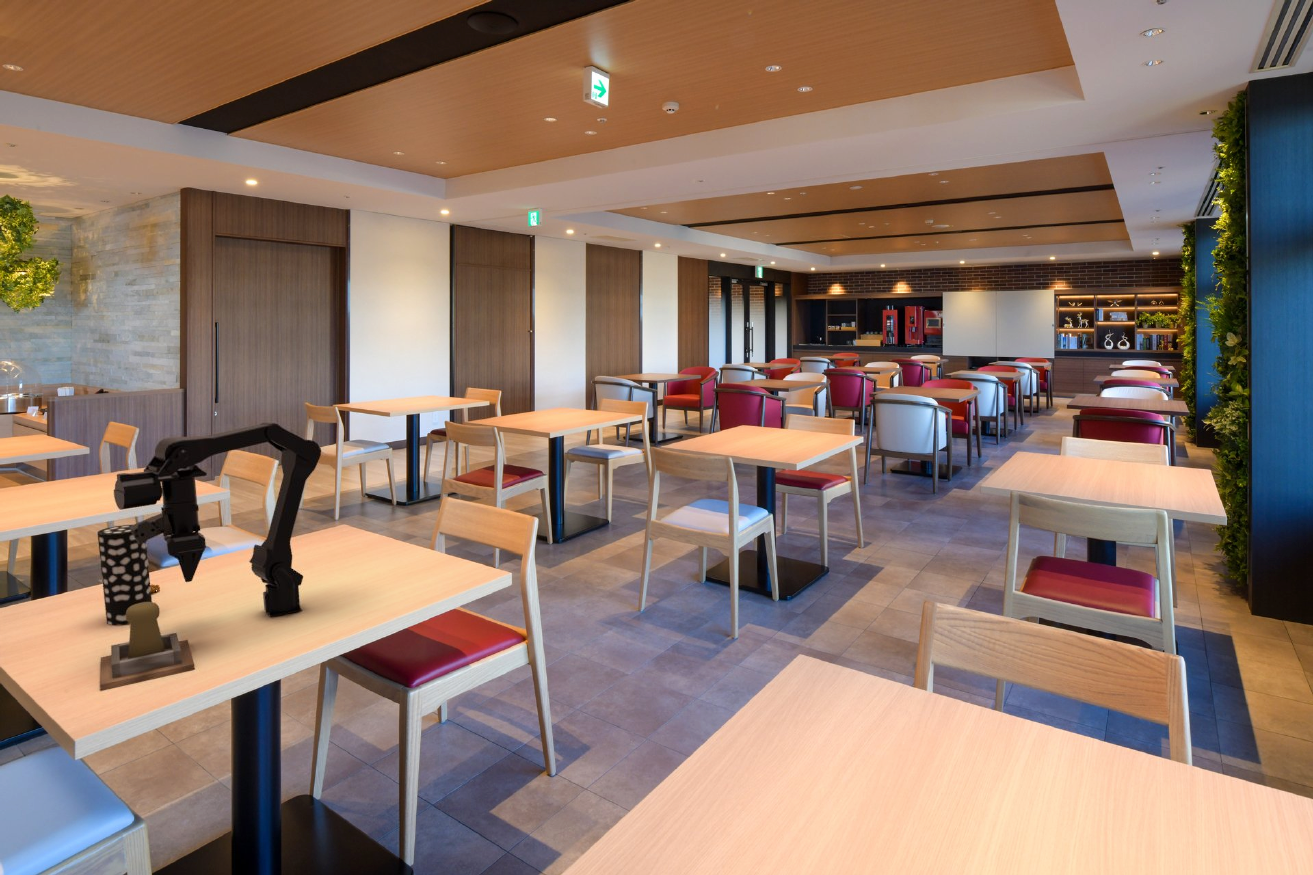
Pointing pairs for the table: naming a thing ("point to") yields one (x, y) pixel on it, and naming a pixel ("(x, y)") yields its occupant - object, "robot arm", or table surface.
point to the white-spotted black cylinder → (123, 572)
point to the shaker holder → (145, 663)
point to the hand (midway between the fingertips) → (186, 575)
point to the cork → (144, 630)
